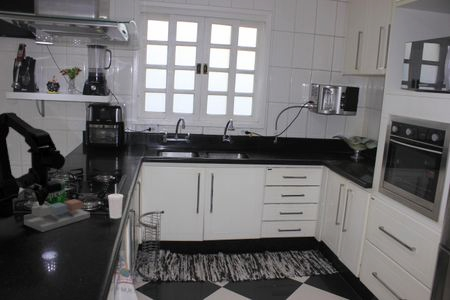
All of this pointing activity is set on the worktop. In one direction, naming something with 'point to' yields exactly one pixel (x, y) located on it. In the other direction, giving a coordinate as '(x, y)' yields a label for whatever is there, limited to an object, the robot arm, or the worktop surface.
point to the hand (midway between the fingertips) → (41, 205)
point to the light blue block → (58, 208)
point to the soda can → (57, 193)
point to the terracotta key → (73, 204)
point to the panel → (54, 220)
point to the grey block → (41, 210)
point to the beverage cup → (115, 204)
